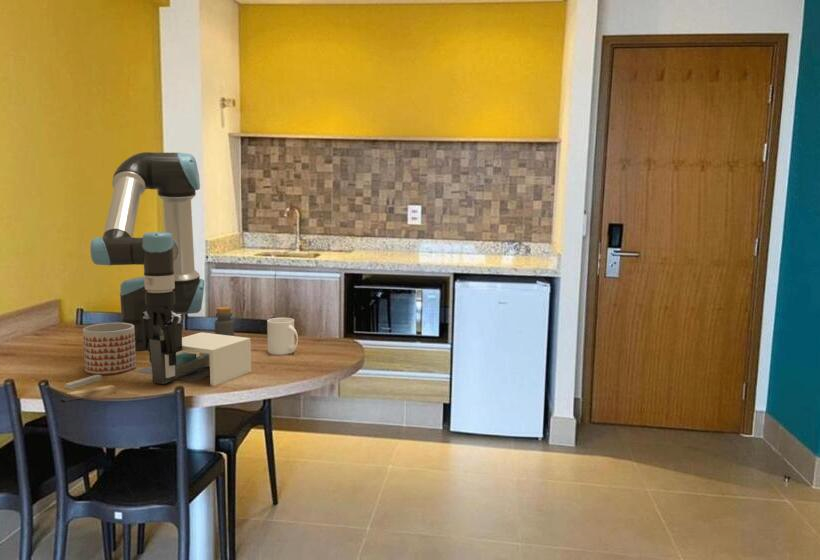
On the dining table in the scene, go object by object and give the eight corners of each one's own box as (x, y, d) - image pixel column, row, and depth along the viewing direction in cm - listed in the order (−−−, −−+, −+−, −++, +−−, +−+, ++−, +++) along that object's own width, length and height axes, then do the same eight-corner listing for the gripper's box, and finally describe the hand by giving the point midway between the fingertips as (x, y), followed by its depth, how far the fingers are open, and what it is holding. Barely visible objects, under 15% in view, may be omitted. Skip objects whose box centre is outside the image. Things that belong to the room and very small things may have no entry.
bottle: (238, 352, 215) (236, 307, 213) (226, 356, 210) (224, 309, 208) (223, 350, 218) (222, 305, 216) (211, 354, 213) (210, 308, 211)
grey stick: (65, 389, 175) (64, 383, 175) (96, 380, 184) (96, 374, 184) (70, 390, 174) (70, 384, 174) (102, 381, 183) (101, 375, 183)
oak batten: (64, 403, 163) (64, 395, 163) (62, 401, 165) (62, 393, 165) (115, 394, 171) (115, 386, 171) (112, 392, 173) (112, 384, 173)
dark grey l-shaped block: (152, 382, 178) (149, 339, 176) (201, 364, 194) (198, 324, 192) (163, 384, 176) (160, 340, 174) (211, 366, 192) (209, 326, 190)
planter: (103, 378, 184) (101, 333, 183) (75, 371, 192) (72, 328, 190) (146, 367, 196) (144, 325, 194) (117, 361, 203) (115, 320, 201)
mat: (133, 372, 190) (133, 371, 190) (162, 364, 200) (162, 362, 200) (193, 382, 181) (193, 381, 181) (220, 372, 191) (220, 371, 191)
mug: (288, 358, 208) (287, 325, 207) (262, 352, 215) (261, 320, 214) (307, 353, 215) (307, 320, 214) (281, 347, 222) (281, 316, 221)
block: (170, 372, 189) (170, 355, 188) (184, 368, 193) (183, 352, 193) (183, 375, 187) (182, 357, 186) (196, 371, 191) (196, 354, 190)
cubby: (162, 378, 184) (161, 343, 183) (202, 365, 199) (201, 332, 197) (214, 387, 177) (212, 349, 176) (251, 372, 192) (250, 338, 190)
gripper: (124, 290, 176) (128, 375, 179) (174, 294, 169) (178, 383, 172) (146, 286, 183) (149, 368, 186) (195, 290, 176) (198, 376, 179)
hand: (163, 375), depth 179 cm, fingers closed on dark grey l-shaped block, 4 cm apart
